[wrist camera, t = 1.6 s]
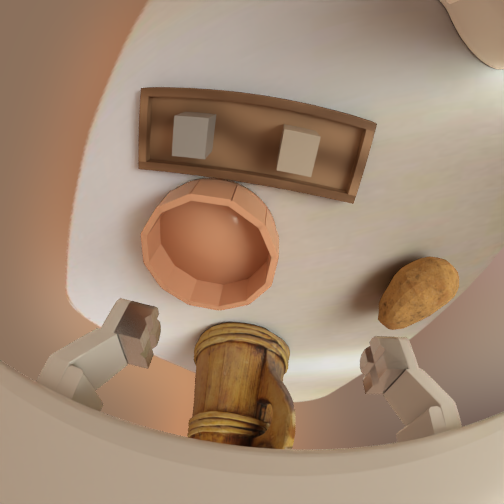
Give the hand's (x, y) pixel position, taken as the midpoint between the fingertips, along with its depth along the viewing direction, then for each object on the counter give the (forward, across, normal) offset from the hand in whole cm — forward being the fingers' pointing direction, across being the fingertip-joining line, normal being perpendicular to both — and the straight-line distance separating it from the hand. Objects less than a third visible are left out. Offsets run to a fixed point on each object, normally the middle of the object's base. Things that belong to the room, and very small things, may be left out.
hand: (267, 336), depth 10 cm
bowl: (+26, +6, +12) cm, 29 cm away
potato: (+26, -24, +13) cm, 37 cm away
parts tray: (+25, +3, -2) cm, 25 cm away
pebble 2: (+24, -2, -2) cm, 25 cm away
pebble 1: (+24, +9, -2) cm, 26 cm away
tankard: (+26, -2, +35) cm, 44 cm away
